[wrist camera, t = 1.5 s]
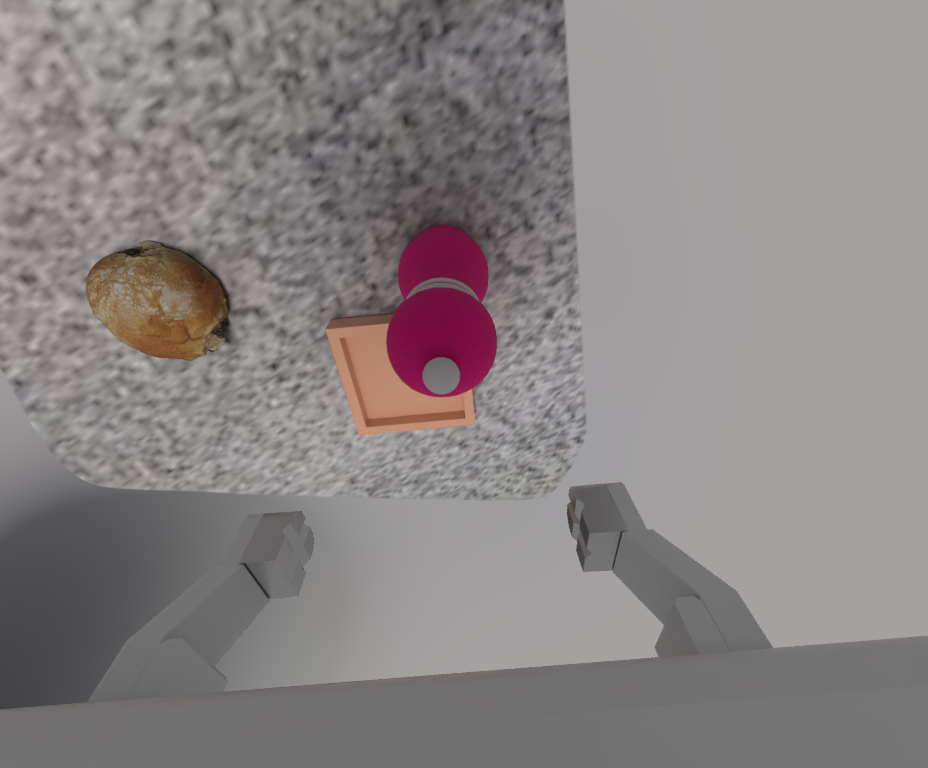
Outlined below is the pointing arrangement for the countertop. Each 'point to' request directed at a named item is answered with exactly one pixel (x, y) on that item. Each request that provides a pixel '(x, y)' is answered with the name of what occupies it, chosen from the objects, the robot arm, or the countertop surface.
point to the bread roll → (158, 302)
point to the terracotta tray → (386, 383)
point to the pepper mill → (442, 315)
